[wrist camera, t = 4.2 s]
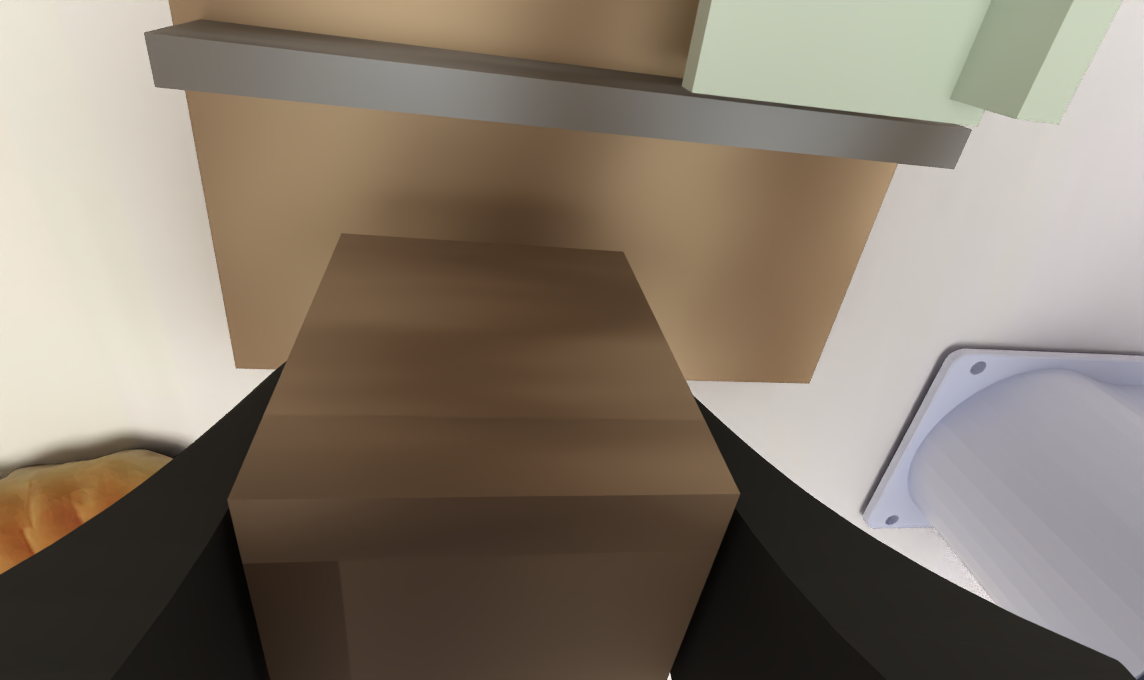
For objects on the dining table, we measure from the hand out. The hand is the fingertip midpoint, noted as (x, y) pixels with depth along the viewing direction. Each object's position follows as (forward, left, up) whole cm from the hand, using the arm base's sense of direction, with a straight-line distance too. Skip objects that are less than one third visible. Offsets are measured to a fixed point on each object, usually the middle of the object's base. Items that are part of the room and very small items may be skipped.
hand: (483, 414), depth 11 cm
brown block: (0, 0, -2) cm, 2 cm away
